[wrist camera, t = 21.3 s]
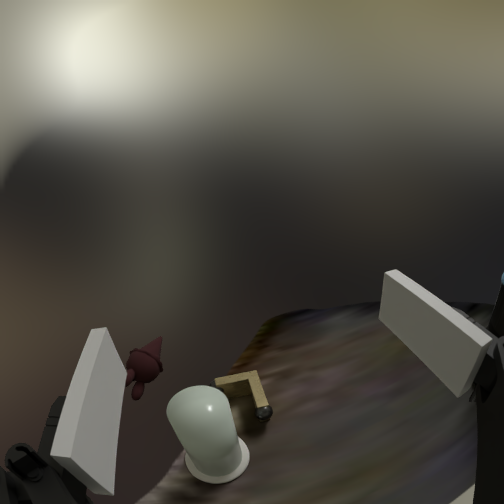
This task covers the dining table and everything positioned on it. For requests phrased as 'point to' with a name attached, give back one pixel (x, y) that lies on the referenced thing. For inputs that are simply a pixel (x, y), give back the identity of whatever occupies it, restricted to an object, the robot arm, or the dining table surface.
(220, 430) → the tall sage cylinder
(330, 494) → the dining table surface
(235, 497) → the dining table surface
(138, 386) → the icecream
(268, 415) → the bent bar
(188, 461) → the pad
